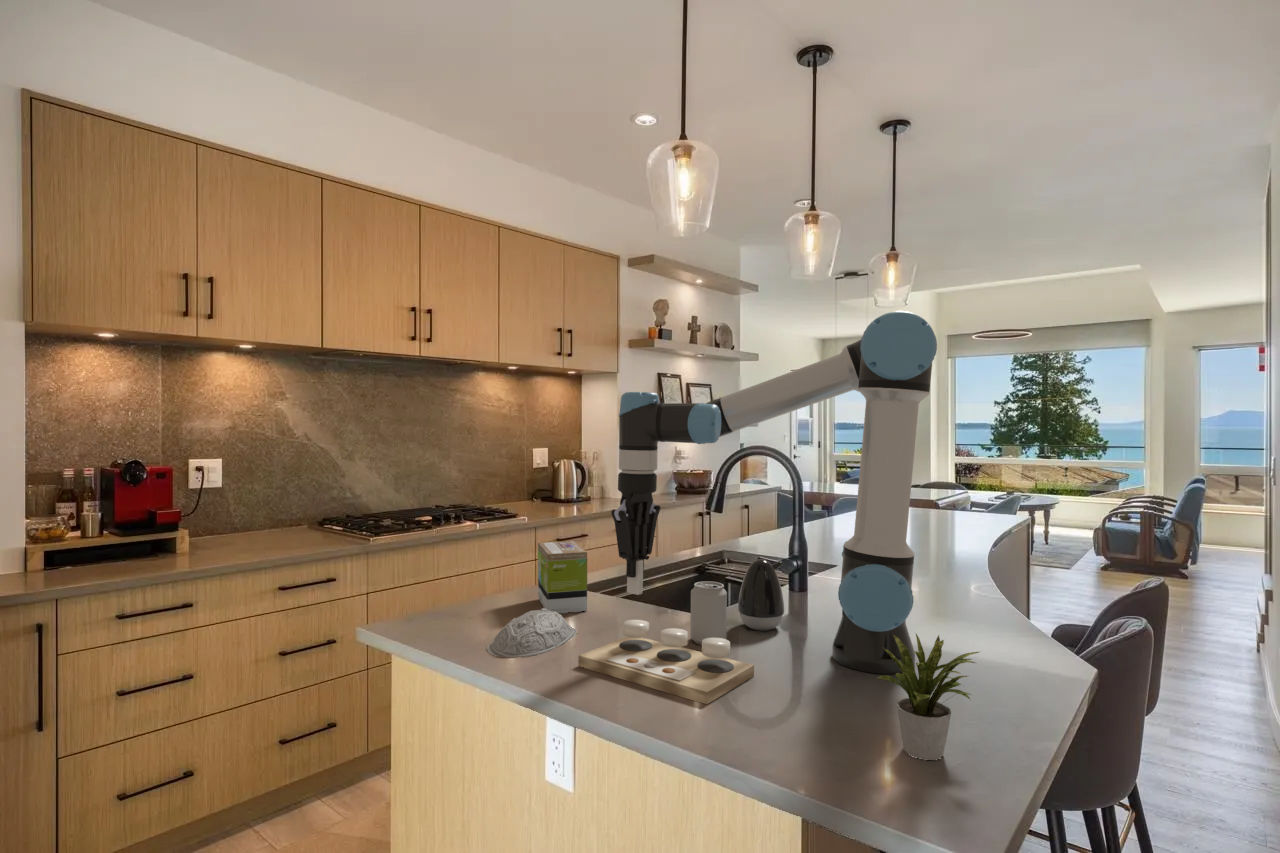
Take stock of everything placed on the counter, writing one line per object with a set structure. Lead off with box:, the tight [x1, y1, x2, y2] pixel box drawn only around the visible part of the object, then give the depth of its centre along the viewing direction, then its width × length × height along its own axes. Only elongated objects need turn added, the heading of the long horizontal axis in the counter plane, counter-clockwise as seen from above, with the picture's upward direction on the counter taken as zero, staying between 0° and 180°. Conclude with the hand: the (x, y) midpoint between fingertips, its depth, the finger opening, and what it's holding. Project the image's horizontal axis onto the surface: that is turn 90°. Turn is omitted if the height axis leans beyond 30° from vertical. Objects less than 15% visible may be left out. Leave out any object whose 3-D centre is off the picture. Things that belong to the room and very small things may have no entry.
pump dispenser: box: [737, 558, 785, 632], centre depth 155 cm, size 10×10×15 cm
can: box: [689, 580, 728, 646], centre depth 144 cm, size 8×8×12 cm
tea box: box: [537, 540, 588, 614], centre depth 171 cm, size 15×10×15 cm
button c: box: [622, 619, 650, 638], centre depth 135 cm, size 5×5×2 cm
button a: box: [701, 638, 731, 658], centre depth 124 cm, size 5×5×2 cm
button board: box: [577, 636, 755, 705], centre depth 127 cm, size 28×16×2 cm, turn 53°
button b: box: [660, 627, 689, 648], centre depth 129 cm, size 5×5×2 cm
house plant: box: [877, 633, 980, 761], centre depth 95 cm, size 14×14×16 cm
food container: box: [486, 607, 578, 658], centre depth 144 cm, size 16×25×7 cm, turn 161°
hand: (634, 592), depth 135 cm, fingers closed
